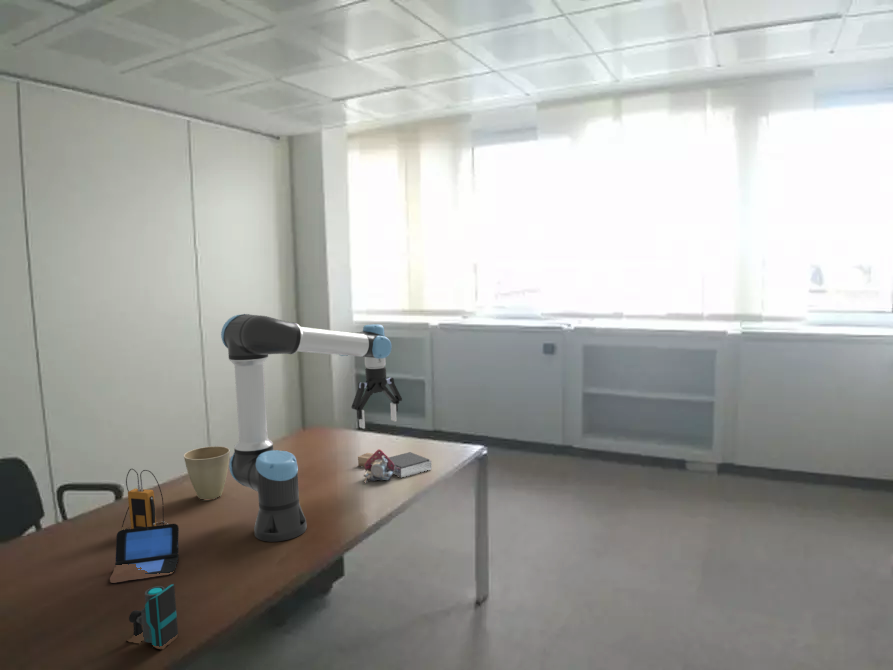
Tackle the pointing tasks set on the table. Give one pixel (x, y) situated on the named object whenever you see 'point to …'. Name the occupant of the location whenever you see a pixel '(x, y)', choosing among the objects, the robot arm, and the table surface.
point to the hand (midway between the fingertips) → (378, 424)
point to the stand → (409, 464)
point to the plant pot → (208, 470)
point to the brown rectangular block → (364, 459)
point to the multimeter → (142, 506)
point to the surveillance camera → (157, 616)
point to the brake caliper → (378, 467)
